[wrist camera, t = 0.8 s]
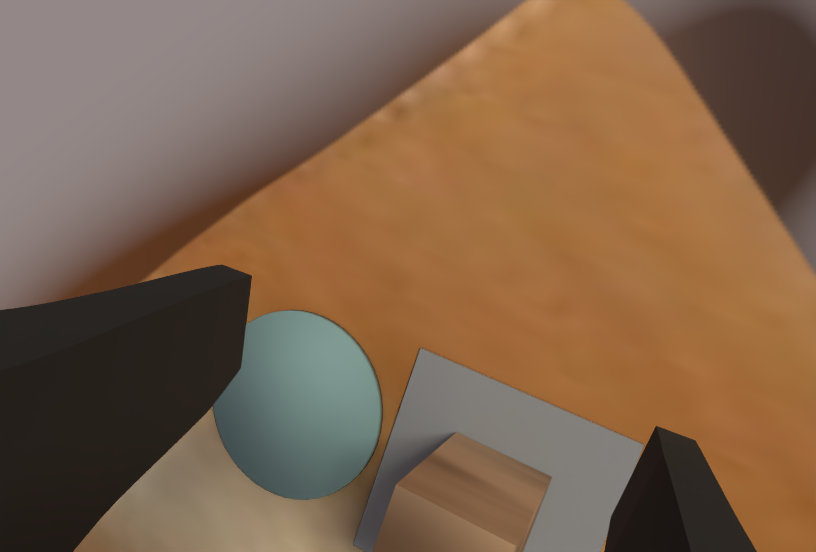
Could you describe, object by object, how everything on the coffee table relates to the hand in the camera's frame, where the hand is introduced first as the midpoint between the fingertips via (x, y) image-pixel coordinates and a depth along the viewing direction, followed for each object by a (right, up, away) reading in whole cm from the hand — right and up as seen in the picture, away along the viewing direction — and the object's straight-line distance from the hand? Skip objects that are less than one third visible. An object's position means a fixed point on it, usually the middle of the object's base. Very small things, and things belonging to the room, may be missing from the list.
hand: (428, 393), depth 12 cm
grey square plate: (+3, -8, +18) cm, 20 cm away
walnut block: (+3, -8, +18) cm, 20 cm away
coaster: (-6, -4, +21) cm, 22 cm away
